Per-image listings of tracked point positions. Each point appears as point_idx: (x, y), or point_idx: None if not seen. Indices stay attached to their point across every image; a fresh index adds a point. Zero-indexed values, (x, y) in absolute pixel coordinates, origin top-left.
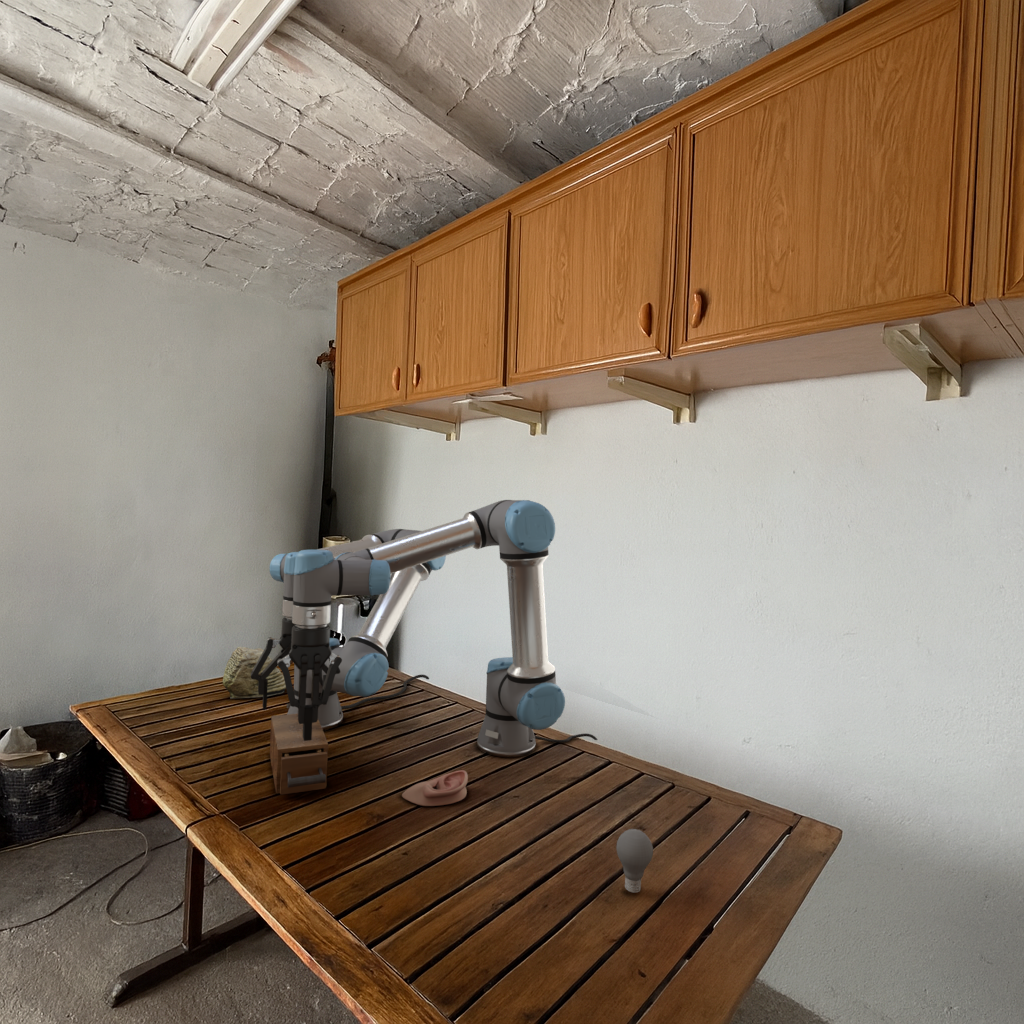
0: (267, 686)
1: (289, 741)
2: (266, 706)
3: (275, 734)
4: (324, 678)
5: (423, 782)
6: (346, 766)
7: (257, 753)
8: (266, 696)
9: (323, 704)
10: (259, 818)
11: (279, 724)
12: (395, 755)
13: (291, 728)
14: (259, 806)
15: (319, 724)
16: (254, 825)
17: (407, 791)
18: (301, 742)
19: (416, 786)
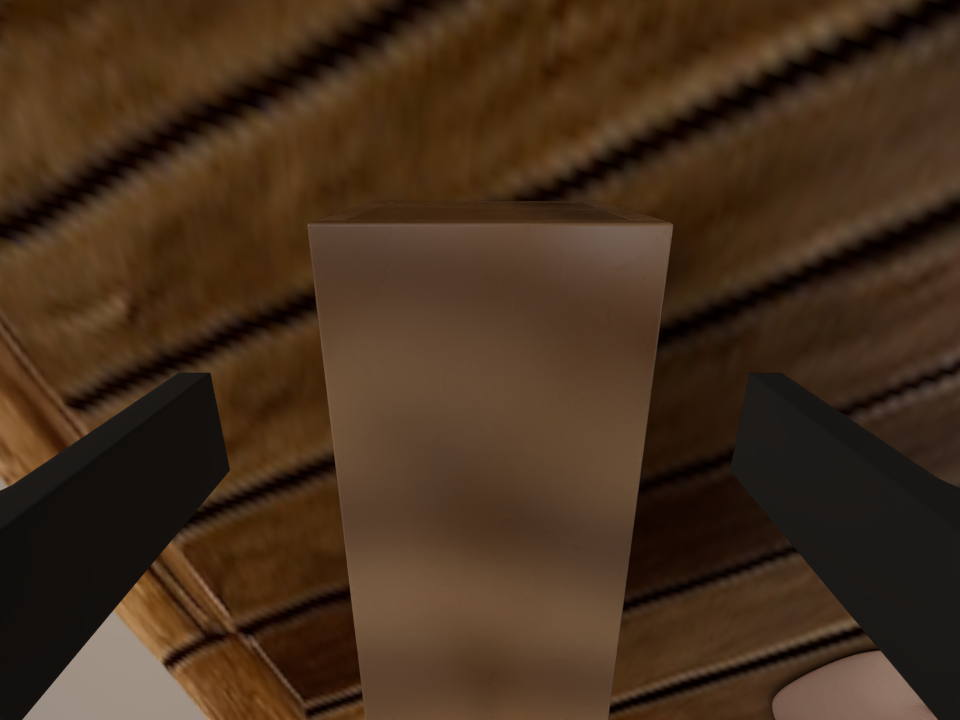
0: (71, 659)
1: (425, 674)
2: (214, 487)
3: (351, 575)
4: (942, 707)
5: (873, 699)
6: (689, 440)
7: (310, 159)
8: (152, 552)
9: (731, 469)
10: (353, 682)
11: (373, 427)
12: (934, 396)
13: (448, 515)
14: (350, 627)
15: (631, 498)
16: (342, 707)
17: (797, 711)
18: (483, 698)
19: (836, 717)
